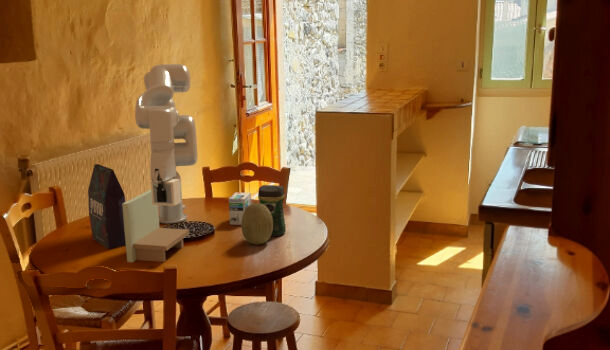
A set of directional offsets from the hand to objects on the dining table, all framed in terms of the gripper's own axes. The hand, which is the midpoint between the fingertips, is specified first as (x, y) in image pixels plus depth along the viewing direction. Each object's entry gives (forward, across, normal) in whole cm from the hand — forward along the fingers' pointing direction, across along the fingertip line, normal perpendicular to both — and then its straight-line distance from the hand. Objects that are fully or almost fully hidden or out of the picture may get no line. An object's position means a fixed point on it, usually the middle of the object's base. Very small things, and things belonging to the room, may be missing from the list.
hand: (166, 199), depth 200 cm
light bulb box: (+19, -42, +11) cm, 47 cm away
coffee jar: (+19, -29, +28) cm, 45 cm away
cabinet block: (+2, 0, 0) cm, 2 cm away
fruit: (+20, -17, +26) cm, 37 cm away
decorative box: (+19, -9, -28) cm, 35 cm away
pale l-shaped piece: (+19, -1, -4) cm, 20 cm away
